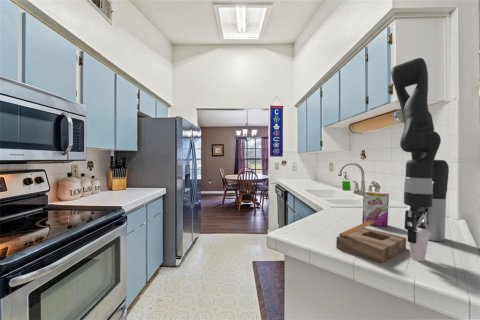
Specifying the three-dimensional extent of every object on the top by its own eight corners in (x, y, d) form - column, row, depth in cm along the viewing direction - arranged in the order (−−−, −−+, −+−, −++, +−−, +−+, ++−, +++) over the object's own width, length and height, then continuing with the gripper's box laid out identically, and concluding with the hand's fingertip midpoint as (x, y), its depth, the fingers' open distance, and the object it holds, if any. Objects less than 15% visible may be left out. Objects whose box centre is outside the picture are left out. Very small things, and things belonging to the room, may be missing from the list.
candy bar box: (362, 223, 119) (363, 191, 119) (363, 221, 123) (363, 190, 123) (388, 227, 113) (388, 193, 113) (388, 225, 117) (388, 192, 117)
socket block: (364, 237, 98) (364, 227, 98) (406, 248, 86) (406, 237, 86) (336, 247, 85) (336, 236, 85) (380, 263, 73) (381, 250, 73)
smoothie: (400, 255, 80) (401, 214, 80) (418, 254, 80) (419, 214, 80) (416, 263, 73) (417, 219, 73) (435, 263, 74) (436, 219, 74)
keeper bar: (344, 235, 87) (342, 232, 87) (374, 223, 78) (372, 219, 79) (340, 237, 85) (338, 234, 85) (370, 224, 77) (368, 220, 77)
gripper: (412, 188, 84) (410, 233, 84) (396, 191, 76) (394, 240, 76) (438, 191, 78) (437, 239, 78) (424, 194, 70) (423, 248, 70)
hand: (416, 240), depth 77 cm, fingers open, 8 cm apart
